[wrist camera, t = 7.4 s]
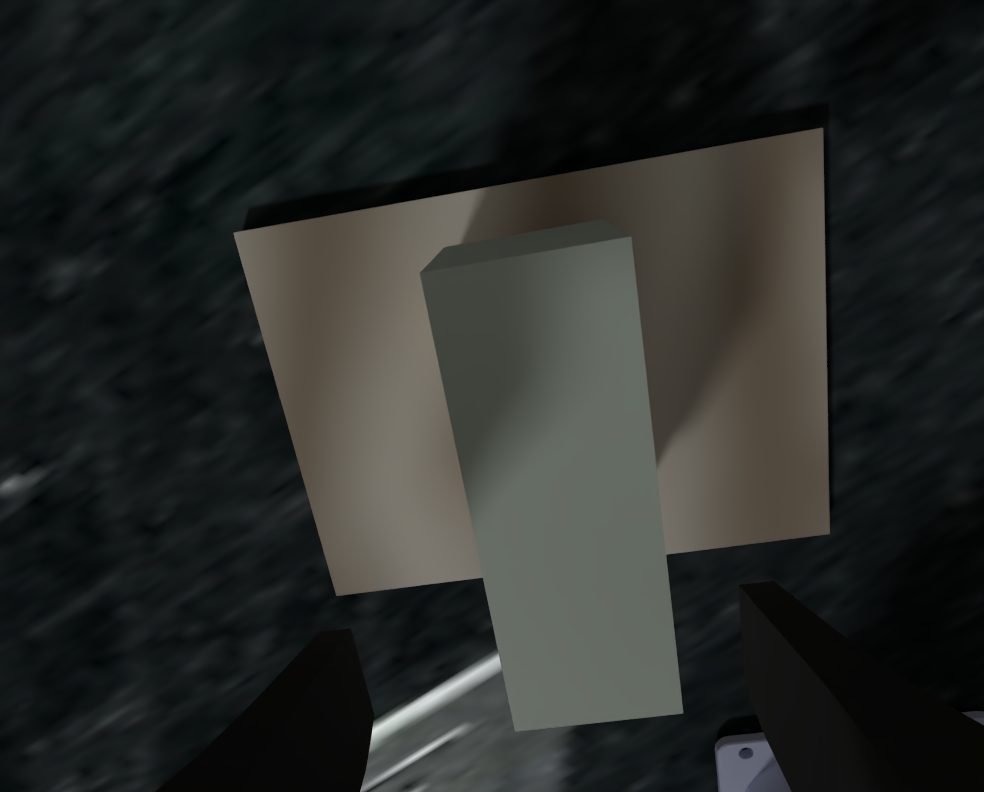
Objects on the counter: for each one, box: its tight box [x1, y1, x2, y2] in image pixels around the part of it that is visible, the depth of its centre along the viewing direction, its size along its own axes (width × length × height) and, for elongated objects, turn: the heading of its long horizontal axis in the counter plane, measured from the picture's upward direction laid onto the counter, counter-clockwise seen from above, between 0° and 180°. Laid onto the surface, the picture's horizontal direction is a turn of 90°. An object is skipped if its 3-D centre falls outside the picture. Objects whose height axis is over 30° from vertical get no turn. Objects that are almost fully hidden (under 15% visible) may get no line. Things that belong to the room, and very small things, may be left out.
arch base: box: [234, 128, 830, 596], centre depth 19 cm, size 16×12×4 cm
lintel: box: [420, 219, 683, 731], centre depth 15 cm, size 4×10×4 cm, turn 10°
